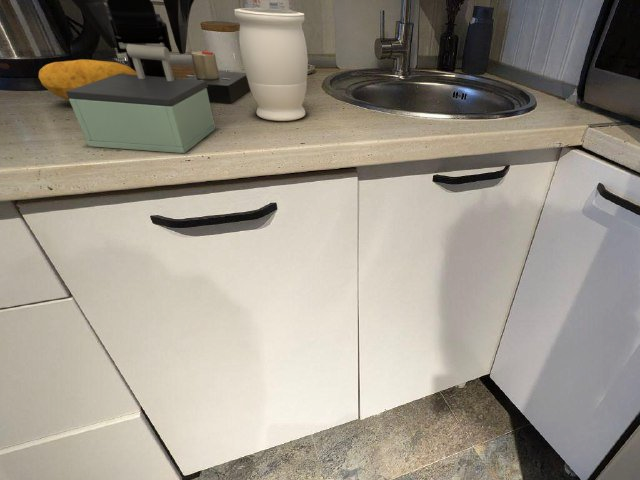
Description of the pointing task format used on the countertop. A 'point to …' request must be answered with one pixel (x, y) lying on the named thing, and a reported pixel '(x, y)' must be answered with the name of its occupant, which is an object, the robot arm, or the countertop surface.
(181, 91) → the box lid
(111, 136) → the green box
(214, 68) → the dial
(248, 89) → the block
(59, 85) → the potato
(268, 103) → the jar
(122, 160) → the countertop surface
